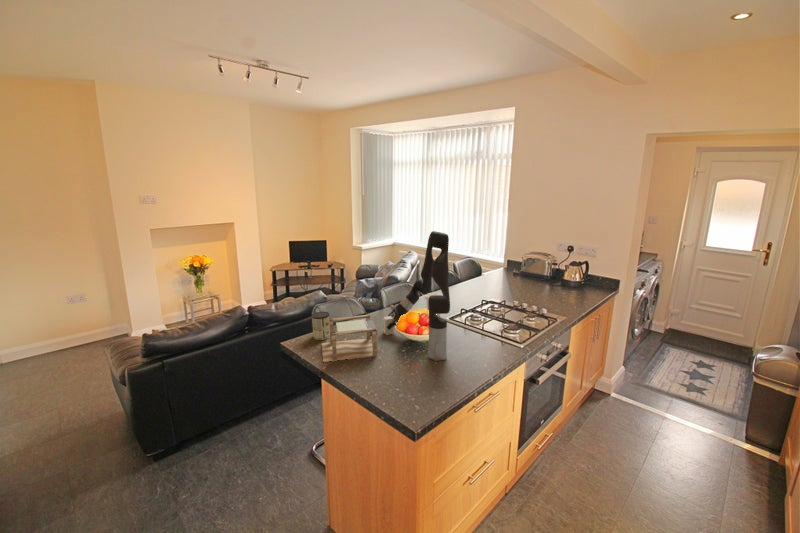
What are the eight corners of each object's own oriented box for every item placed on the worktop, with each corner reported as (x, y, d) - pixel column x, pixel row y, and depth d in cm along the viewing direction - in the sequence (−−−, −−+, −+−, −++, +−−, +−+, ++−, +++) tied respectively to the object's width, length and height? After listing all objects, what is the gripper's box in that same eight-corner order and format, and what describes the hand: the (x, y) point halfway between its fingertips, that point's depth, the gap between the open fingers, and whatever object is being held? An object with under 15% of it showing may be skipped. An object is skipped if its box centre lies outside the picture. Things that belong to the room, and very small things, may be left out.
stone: (393, 334, 220) (393, 318, 218) (385, 335, 219) (385, 319, 217) (391, 331, 225) (391, 315, 223) (384, 332, 224) (383, 316, 222)
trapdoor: (377, 335, 192) (377, 328, 192) (338, 341, 188) (338, 333, 187) (372, 323, 210) (371, 317, 209) (336, 328, 205) (335, 321, 204)
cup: (443, 319, 243) (444, 297, 240) (425, 319, 243) (425, 298, 240) (442, 313, 255) (442, 292, 252) (424, 313, 255) (424, 292, 252)
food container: (386, 320, 243) (386, 306, 241) (391, 317, 249) (391, 303, 247) (403, 323, 238) (403, 308, 236) (407, 320, 243) (407, 306, 241)
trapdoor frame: (377, 355, 192) (376, 329, 189) (323, 362, 186) (321, 335, 182) (370, 338, 214) (369, 314, 211) (321, 344, 207) (320, 319, 204)
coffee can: (316, 332, 224) (314, 311, 221) (332, 333, 223) (331, 311, 220) (310, 339, 214) (309, 317, 211) (327, 340, 213) (326, 317, 210)
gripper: (397, 299, 226) (379, 318, 226) (403, 306, 213) (384, 326, 213) (405, 306, 229) (388, 325, 229) (411, 314, 215) (393, 334, 215)
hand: (386, 326), depth 221 cm, fingers open, 8 cm apart
